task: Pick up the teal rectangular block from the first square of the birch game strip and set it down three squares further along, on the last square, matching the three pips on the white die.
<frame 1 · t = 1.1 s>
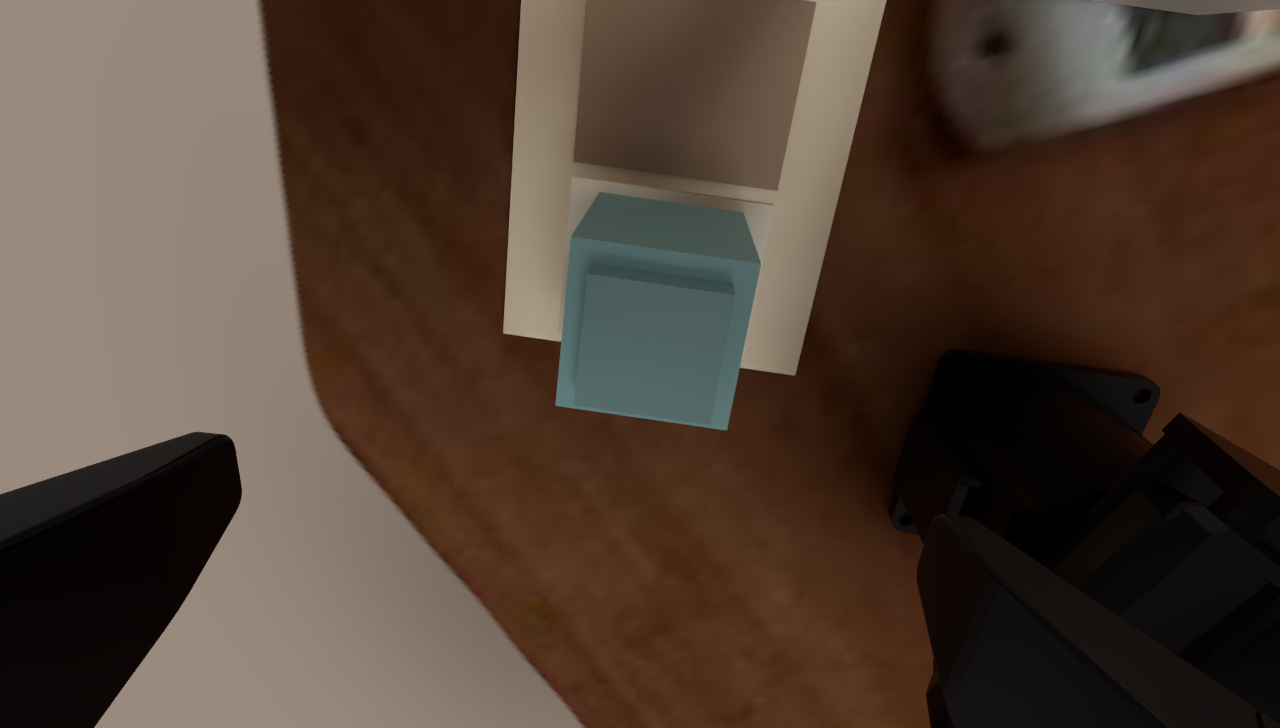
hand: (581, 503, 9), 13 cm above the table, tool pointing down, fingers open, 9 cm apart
teal rectangular block: (661, 271, 20), point 1 cm above the table, touching game strip
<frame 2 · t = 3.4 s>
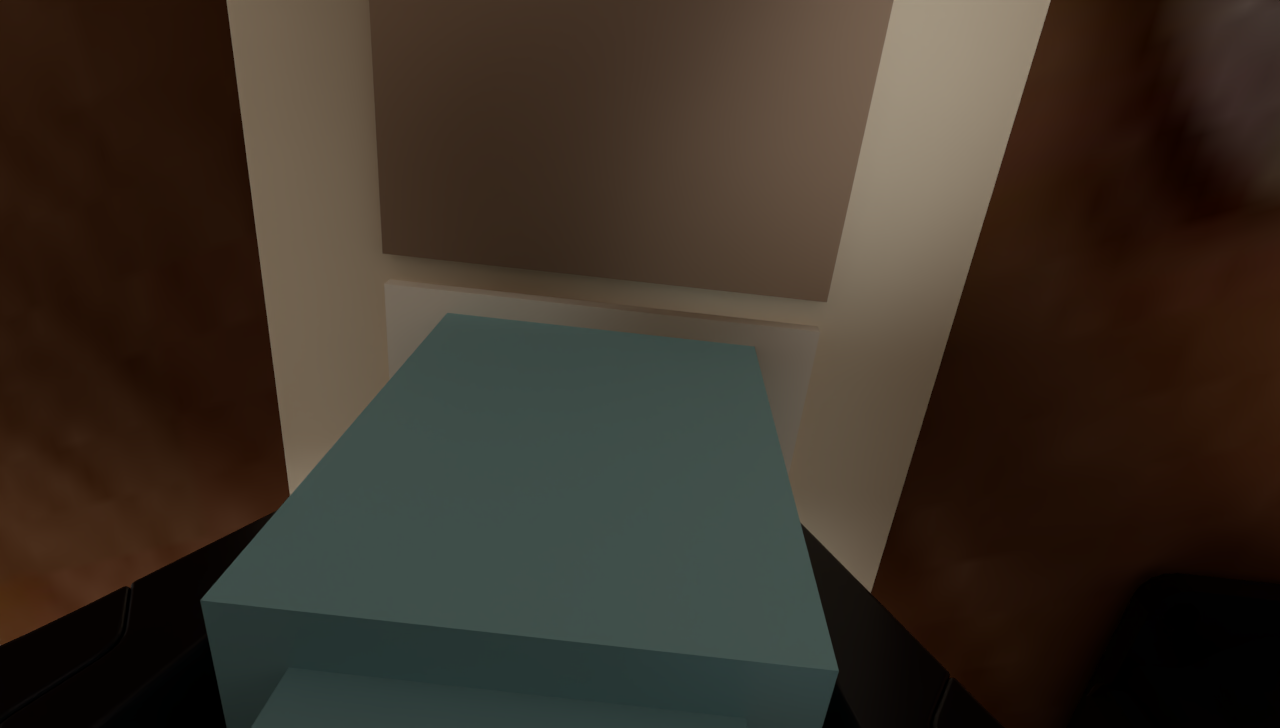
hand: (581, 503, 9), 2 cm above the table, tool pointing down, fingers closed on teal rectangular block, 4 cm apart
teal rectangular block: (590, 460, 10), point 1 cm above the table, touching game strip, gripper
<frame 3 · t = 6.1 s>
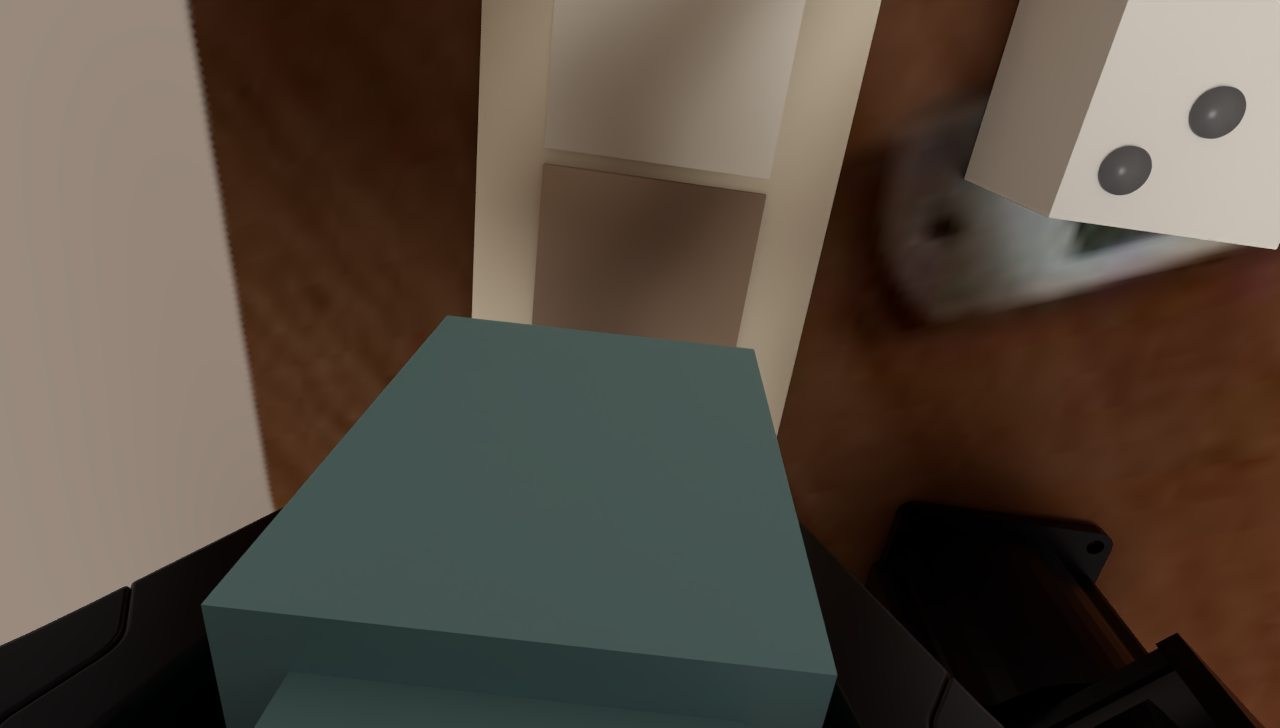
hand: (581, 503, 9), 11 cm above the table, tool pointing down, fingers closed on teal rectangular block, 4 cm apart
game strip: (656, 166, 18), on the table
die: (1086, 97, 17), on the table
teal rectangular block: (589, 463, 10), point 10 cm above the table, touching gripper
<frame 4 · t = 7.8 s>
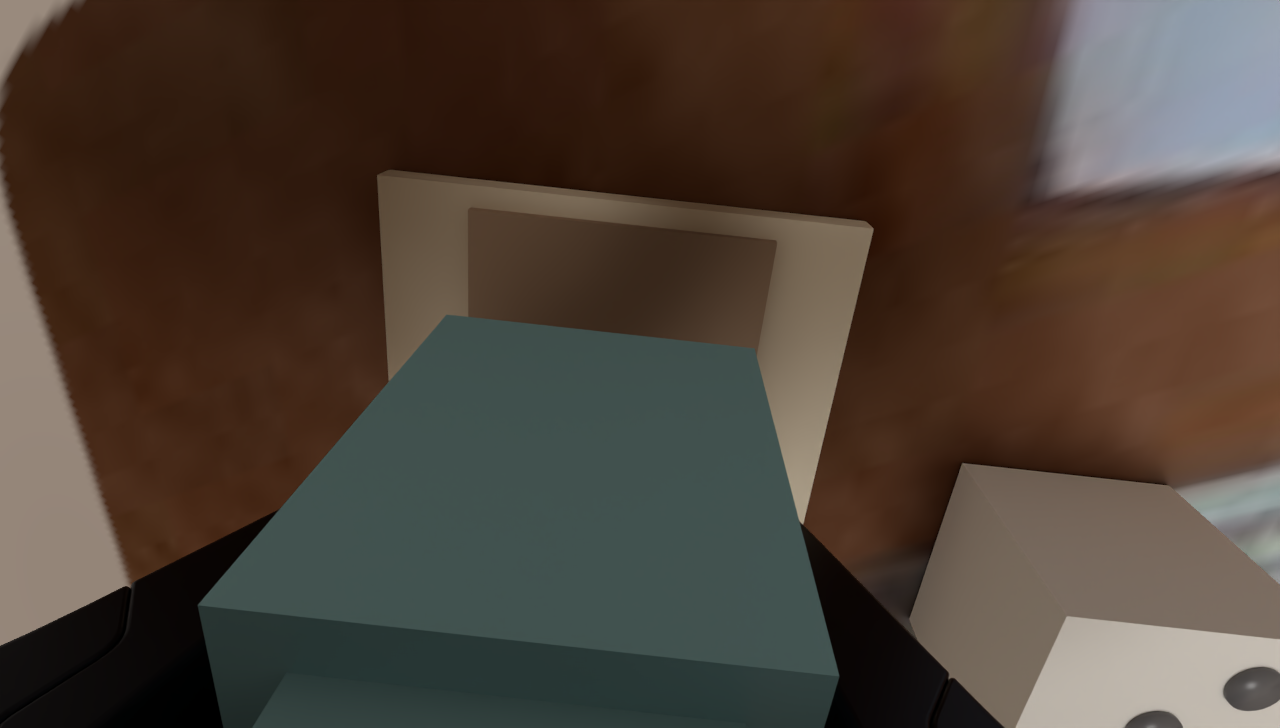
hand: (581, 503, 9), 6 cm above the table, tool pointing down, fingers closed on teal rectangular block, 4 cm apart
game strip: (590, 608, 17), on the table
die: (1031, 556, 16), on the table
teal rectangular block: (589, 462, 10), point 5 cm above the table, touching gripper
when the fingers open (3 cm above the table, at t = 9.0 s): teal rectangular block drops 2 cm, resting on game strip.
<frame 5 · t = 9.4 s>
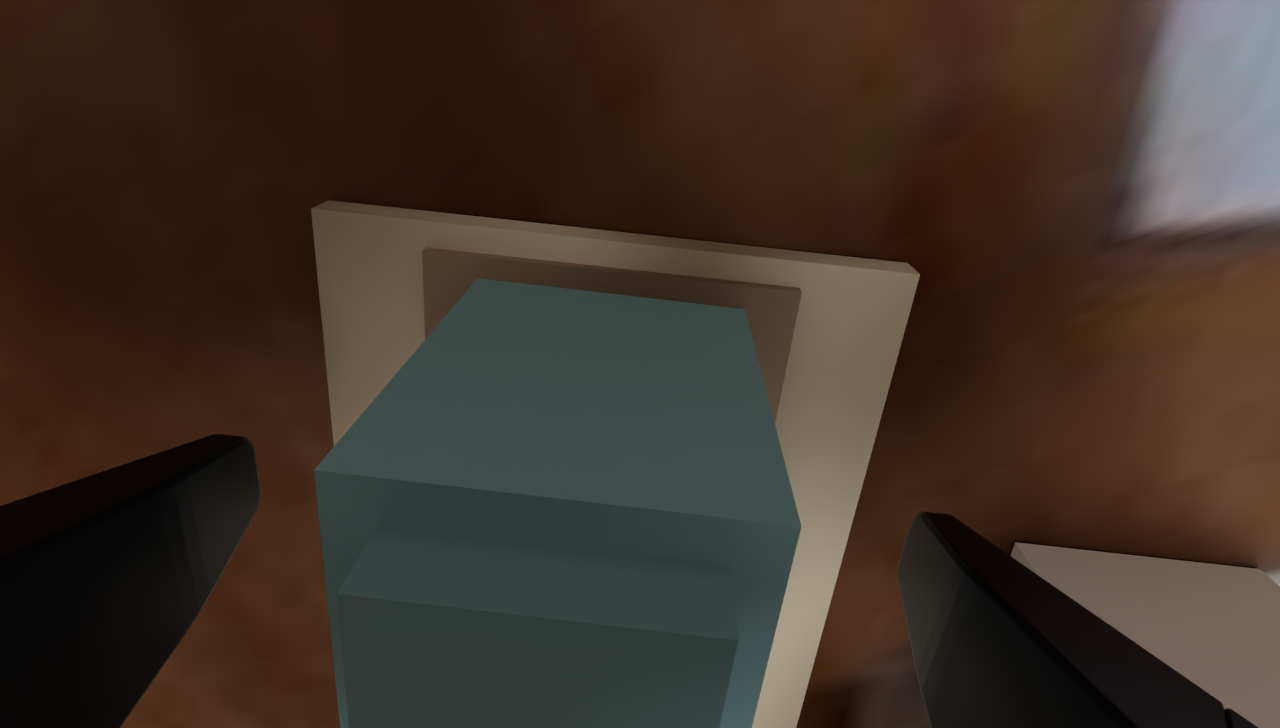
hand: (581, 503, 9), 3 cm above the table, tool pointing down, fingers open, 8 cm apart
game strip: (578, 698, 15), on the table
die: (1092, 646, 14), on the table
teal rectangular block: (600, 411, 11), point 1 cm above the table, touching game strip
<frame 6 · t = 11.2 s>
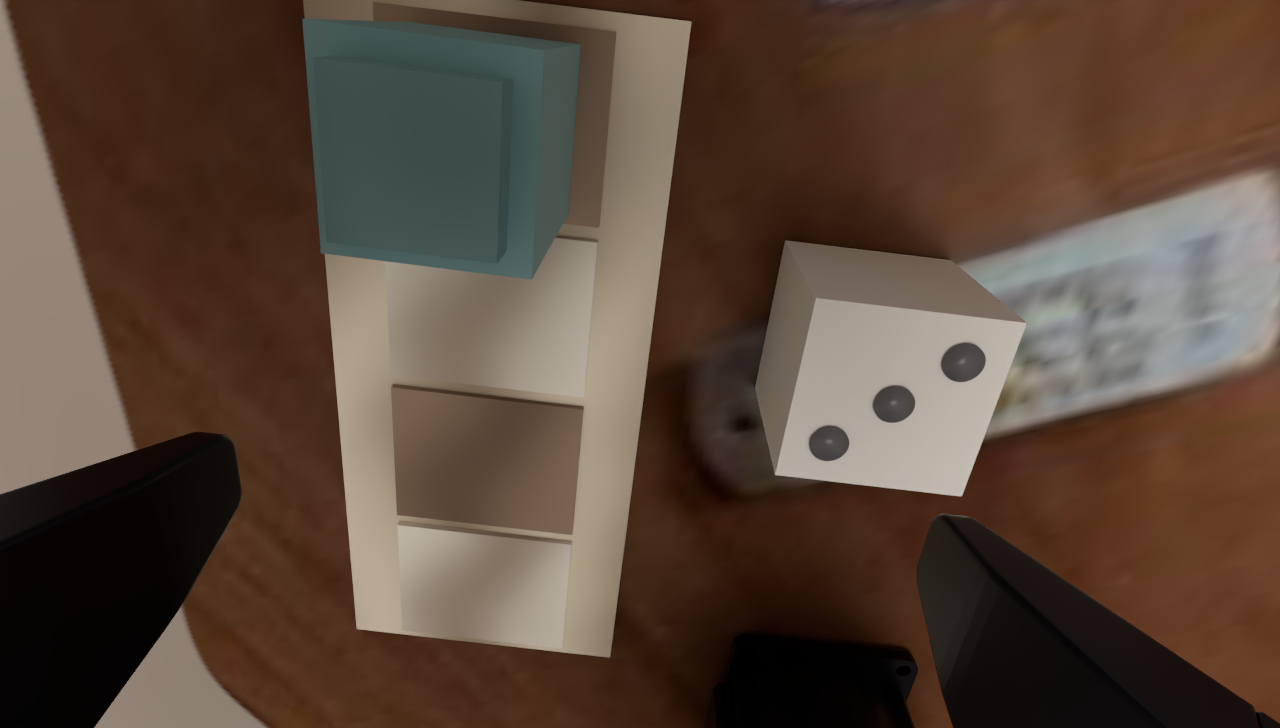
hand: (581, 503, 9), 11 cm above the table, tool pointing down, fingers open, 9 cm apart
game strip: (493, 380, 21), on the table
die: (848, 327, 20), on the table
teal rectangular block: (492, 123, 17), point 1 cm above the table, touching game strip
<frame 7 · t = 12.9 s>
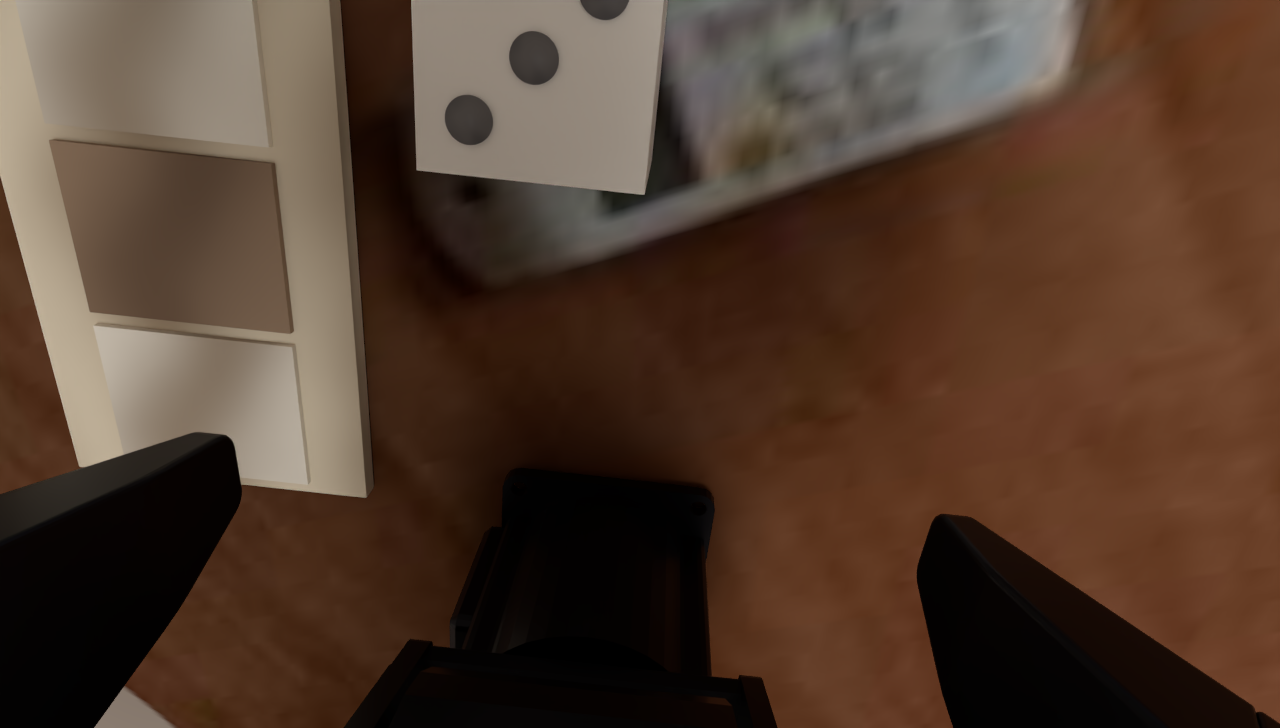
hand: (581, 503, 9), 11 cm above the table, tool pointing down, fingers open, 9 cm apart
game strip: (178, 139, 18), on the table
die: (568, 55, 17), on the table
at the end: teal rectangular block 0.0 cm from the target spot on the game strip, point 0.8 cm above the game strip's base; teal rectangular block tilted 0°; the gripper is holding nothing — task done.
